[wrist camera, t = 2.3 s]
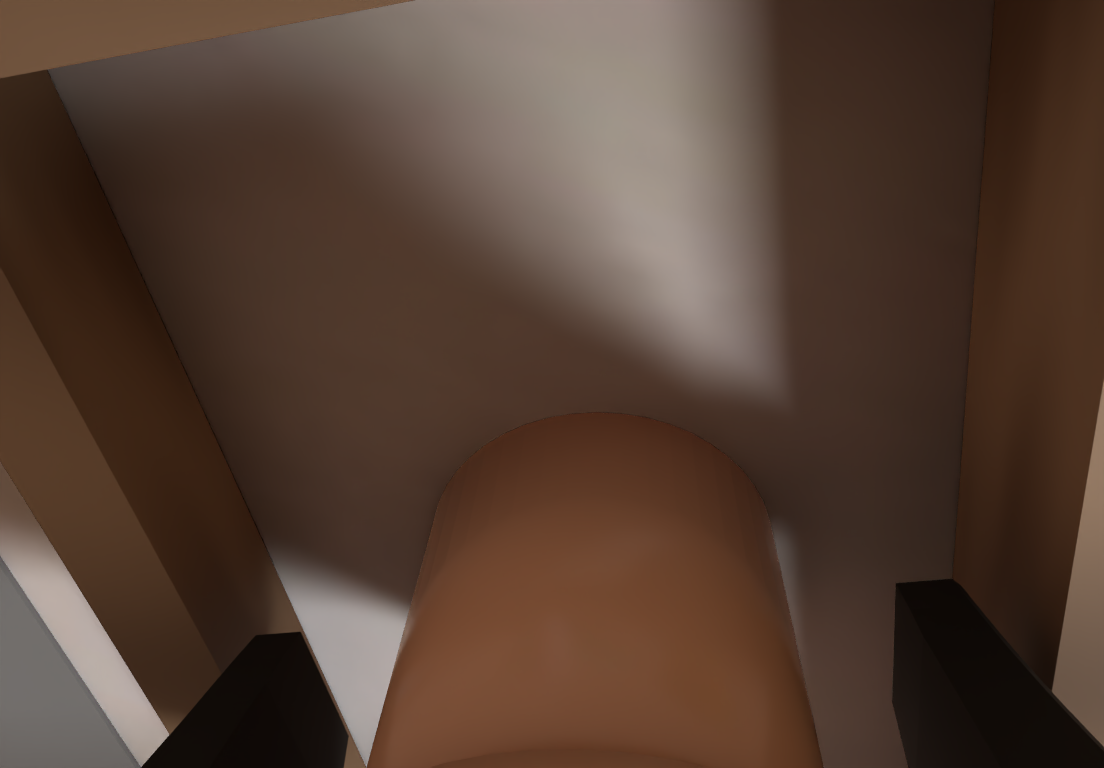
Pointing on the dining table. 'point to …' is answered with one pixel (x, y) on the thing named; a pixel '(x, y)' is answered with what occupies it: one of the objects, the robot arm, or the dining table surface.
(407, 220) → the dining table surface
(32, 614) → the potting mat
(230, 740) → the robot arm
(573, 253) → the dining table surface
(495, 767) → the terracotta pot
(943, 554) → the dining table surface
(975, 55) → the dining table surface
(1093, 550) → the cold frame
